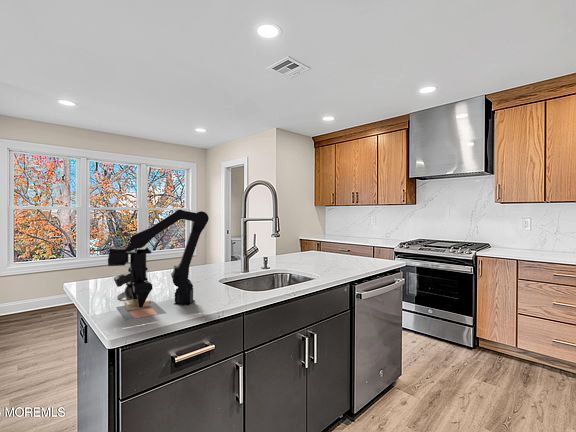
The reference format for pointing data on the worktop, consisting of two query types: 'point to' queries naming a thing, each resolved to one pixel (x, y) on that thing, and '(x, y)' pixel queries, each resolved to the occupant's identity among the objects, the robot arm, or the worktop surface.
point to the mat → (140, 311)
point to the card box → (136, 304)
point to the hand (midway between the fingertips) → (137, 304)
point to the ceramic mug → (126, 294)
